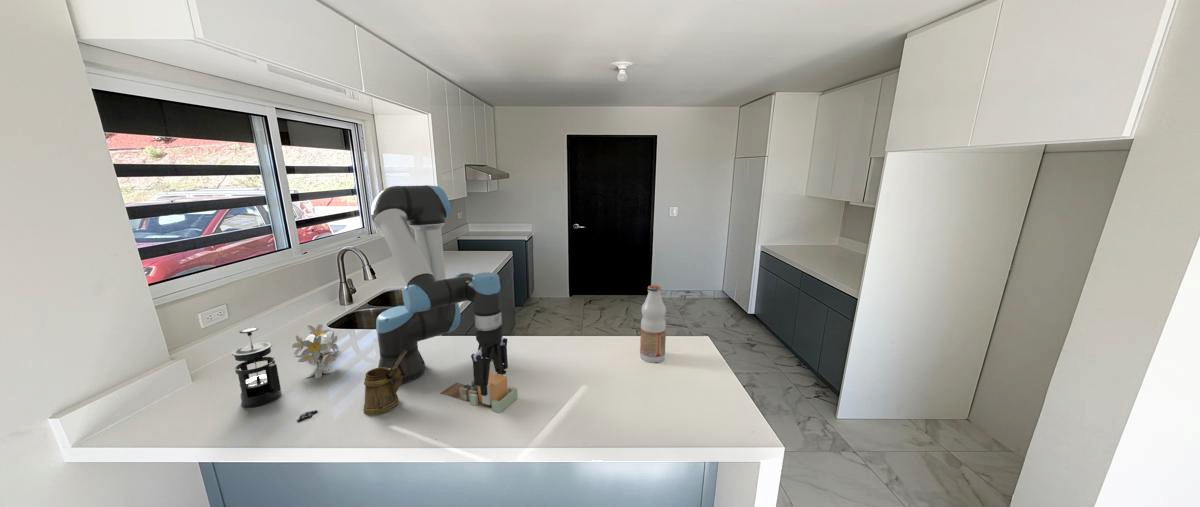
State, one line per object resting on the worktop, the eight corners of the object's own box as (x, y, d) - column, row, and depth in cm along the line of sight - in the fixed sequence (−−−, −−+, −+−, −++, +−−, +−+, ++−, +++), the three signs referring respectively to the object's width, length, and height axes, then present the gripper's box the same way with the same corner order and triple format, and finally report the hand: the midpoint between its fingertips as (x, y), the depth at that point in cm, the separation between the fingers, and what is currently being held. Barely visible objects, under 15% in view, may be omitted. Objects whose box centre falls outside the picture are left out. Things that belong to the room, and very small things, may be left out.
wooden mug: (405, 414, 109) (399, 356, 106) (357, 416, 108) (349, 358, 105) (418, 396, 118) (412, 343, 114) (373, 398, 117) (366, 344, 114)
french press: (230, 406, 113) (215, 334, 108) (262, 389, 122) (249, 322, 118) (264, 409, 111) (250, 336, 107) (294, 392, 120) (282, 324, 116)
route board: (440, 396, 118) (438, 383, 117) (456, 385, 124) (455, 373, 124) (502, 414, 109) (501, 401, 108) (516, 402, 115) (516, 389, 114)
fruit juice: (644, 364, 138) (646, 291, 133) (636, 353, 147) (638, 284, 142) (668, 361, 140) (671, 289, 135) (659, 350, 149) (661, 282, 144)
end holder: (470, 404, 112) (469, 395, 112) (489, 389, 120) (489, 381, 119) (499, 413, 108) (499, 403, 107) (517, 397, 116) (517, 388, 115)
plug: (460, 395, 116) (459, 375, 115) (472, 387, 120) (470, 367, 119) (497, 406, 110) (496, 384, 109) (508, 397, 115) (506, 376, 114)
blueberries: (329, 413, 111) (329, 407, 111) (303, 428, 103) (302, 422, 103) (311, 410, 112) (310, 404, 112) (283, 425, 105) (283, 418, 105)
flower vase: (309, 373, 146) (302, 385, 125) (292, 328, 144) (282, 334, 123) (348, 358, 153) (347, 367, 132) (332, 315, 151) (329, 318, 130)
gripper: (477, 340, 100) (482, 418, 104) (518, 317, 116) (521, 386, 121) (455, 335, 103) (461, 412, 107) (498, 314, 119) (501, 381, 124)
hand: (493, 398), depth 114 cm, fingers closed on plug, 5 cm apart
